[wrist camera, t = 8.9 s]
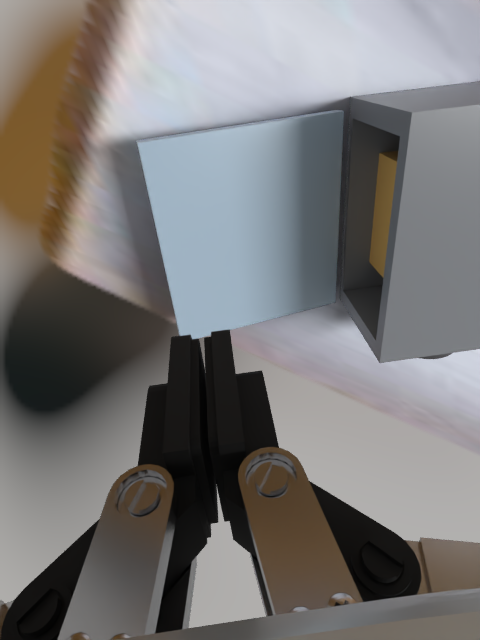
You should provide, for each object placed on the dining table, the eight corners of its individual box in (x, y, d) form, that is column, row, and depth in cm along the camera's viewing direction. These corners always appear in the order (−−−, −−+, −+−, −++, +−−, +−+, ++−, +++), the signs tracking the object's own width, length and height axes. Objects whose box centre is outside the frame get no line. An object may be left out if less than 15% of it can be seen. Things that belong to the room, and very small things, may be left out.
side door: (336, 109, 22) (135, 140, 20) (344, 111, 21) (137, 142, 19) (330, 297, 29) (179, 335, 26) (335, 302, 28) (181, 342, 26)
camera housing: (350, 97, 22) (412, 112, 16) (508, 78, 22) (628, 86, 16) (338, 316, 30) (376, 383, 24) (455, 300, 30) (521, 362, 24)
